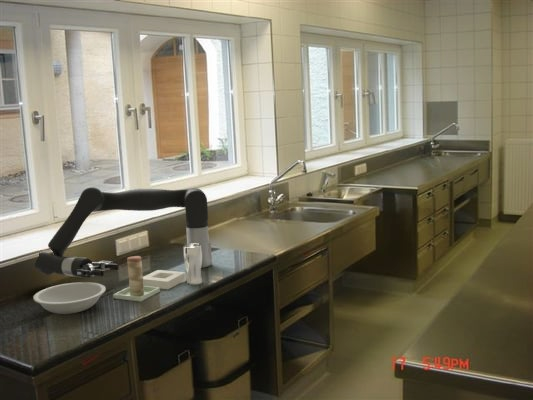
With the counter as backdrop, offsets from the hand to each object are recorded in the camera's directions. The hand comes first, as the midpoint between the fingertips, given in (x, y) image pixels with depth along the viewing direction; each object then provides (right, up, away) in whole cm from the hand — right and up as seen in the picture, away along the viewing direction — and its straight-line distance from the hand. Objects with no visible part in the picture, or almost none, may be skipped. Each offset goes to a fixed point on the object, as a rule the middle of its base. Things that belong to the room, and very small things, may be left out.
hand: (110, 270), depth 234 cm
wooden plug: (+10, -9, -3) cm, 14 cm away
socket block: (+18, -7, +10) cm, 22 cm away
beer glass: (+30, -6, +10) cm, 32 cm away
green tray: (+10, -9, -3) cm, 14 cm away
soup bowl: (-10, -12, -16) cm, 22 cm away
